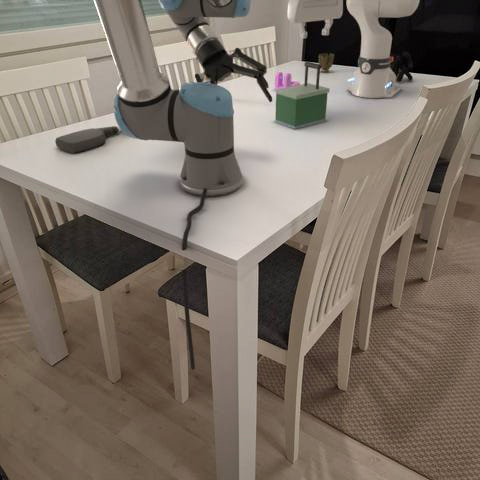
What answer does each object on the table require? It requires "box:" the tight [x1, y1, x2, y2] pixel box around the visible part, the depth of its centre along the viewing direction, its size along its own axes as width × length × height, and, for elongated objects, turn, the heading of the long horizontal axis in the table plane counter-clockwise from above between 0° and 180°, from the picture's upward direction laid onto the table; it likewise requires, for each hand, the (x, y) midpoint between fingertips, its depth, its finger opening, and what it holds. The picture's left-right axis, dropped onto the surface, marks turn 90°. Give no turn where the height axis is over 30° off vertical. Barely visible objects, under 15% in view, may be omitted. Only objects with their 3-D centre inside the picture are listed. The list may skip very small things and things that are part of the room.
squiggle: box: [390, 51, 414, 83], centre depth 198 cm, size 11×10×15 cm
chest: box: [274, 93, 329, 130], centre depth 149 cm, size 14×10×9 cm
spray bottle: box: [54, 124, 122, 154], centre depth 138 cm, size 3×11×24 cm
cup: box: [318, 52, 335, 73], centre depth 215 cm, size 8×7×8 cm
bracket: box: [274, 71, 301, 91], centre depth 190 cm, size 13×6×7 cm, turn 143°
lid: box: [275, 61, 330, 100], centre depth 144 cm, size 14×10×9 cm
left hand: (248, 114), depth 116 cm, fingers open, 13 cm apart
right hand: (314, 36), depth 140 cm, fingers open, 8 cm apart
